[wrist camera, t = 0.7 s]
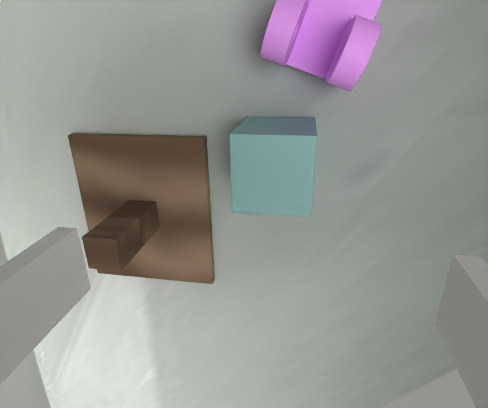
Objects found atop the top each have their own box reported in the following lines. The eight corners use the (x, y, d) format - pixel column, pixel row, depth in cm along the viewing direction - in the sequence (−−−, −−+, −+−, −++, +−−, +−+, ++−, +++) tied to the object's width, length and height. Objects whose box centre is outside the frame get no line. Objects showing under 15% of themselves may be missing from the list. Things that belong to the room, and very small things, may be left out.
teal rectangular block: (247, 116, 27) (229, 134, 21) (314, 117, 26) (316, 135, 20) (248, 179, 29) (231, 211, 23) (310, 182, 28) (311, 216, 22)
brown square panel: (73, 133, 30) (0, 156, 23) (206, 136, 28) (171, 163, 21) (102, 268, 35) (50, 321, 28) (214, 278, 33) (189, 338, 26)
